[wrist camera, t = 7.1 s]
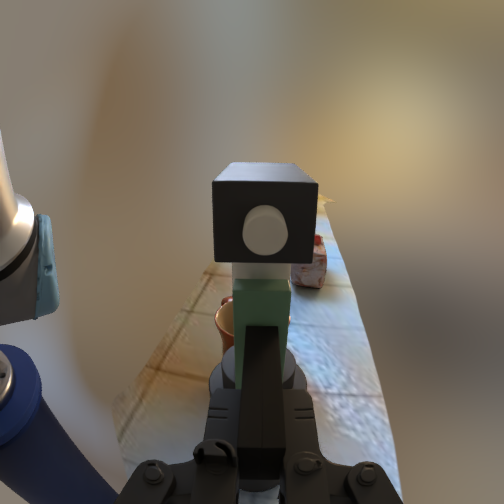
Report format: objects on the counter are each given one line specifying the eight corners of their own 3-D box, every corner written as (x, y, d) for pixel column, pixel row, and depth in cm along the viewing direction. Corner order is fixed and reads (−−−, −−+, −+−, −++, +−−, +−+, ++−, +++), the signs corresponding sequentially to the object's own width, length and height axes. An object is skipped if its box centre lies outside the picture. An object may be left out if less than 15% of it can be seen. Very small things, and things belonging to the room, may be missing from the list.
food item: (326, 292, 60) (332, 247, 56) (288, 290, 61) (291, 245, 57) (321, 264, 72) (324, 226, 68) (288, 263, 73) (291, 224, 69)
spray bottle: (290, 513, 19) (378, 192, 9) (216, 512, 19) (151, 188, 9) (286, 439, 28) (319, 162, 18) (224, 438, 28) (205, 160, 18)
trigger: (281, 395, 16) (291, 291, 13) (235, 394, 16) (232, 290, 13) (280, 380, 17) (289, 278, 14) (237, 380, 17) (234, 277, 14)
